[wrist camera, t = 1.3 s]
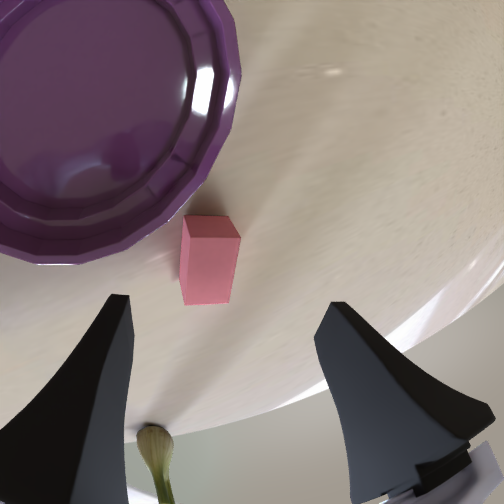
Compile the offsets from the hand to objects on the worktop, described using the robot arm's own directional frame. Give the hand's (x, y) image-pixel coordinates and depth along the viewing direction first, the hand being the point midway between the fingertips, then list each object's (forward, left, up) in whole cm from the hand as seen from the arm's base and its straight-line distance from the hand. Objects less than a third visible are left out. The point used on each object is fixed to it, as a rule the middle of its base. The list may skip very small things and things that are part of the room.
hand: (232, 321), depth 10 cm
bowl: (+7, +8, -10) cm, 15 cm away
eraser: (-3, -1, -10) cm, 11 cm away
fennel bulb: (-31, +4, -10) cm, 33 cm away
